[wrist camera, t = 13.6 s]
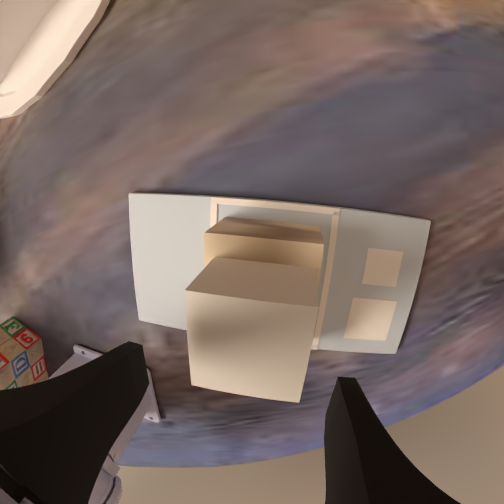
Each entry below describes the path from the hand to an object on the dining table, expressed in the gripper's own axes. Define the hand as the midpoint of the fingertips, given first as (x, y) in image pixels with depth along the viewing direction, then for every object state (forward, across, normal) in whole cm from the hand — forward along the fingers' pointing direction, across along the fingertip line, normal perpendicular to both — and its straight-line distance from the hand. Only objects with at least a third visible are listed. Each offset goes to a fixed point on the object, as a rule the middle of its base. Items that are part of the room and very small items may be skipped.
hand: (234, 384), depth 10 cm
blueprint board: (+10, 0, 0) cm, 10 cm away
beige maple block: (+6, 0, 0) cm, 6 cm away
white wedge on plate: (+11, +26, -26) cm, 38 cm away
